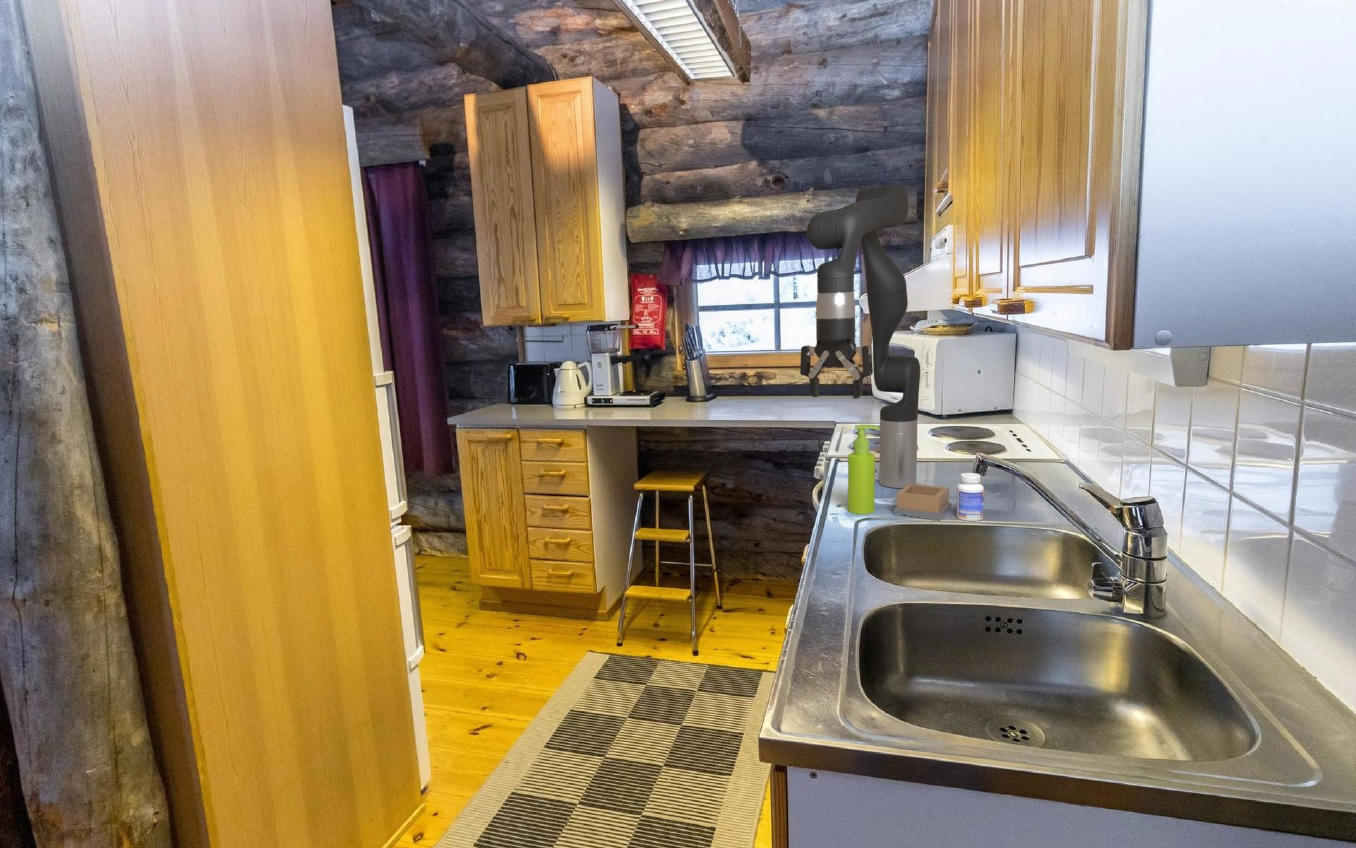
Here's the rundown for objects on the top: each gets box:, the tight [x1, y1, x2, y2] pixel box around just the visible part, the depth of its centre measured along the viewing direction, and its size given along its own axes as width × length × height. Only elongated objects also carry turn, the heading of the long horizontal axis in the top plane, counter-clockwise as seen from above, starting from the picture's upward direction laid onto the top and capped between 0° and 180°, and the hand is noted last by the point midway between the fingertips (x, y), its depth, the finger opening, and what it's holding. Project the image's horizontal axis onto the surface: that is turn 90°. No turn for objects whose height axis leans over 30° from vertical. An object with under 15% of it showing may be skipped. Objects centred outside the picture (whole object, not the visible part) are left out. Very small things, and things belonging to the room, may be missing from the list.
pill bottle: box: [956, 472, 985, 522], centre depth 152 cm, size 5×5×10 cm
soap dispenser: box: [847, 424, 880, 515], centre depth 159 cm, size 6×7×20 cm
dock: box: [893, 483, 952, 521], centre depth 158 cm, size 10×10×5 cm
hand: (835, 397), depth 140 cm, fingers open, 8 cm apart
